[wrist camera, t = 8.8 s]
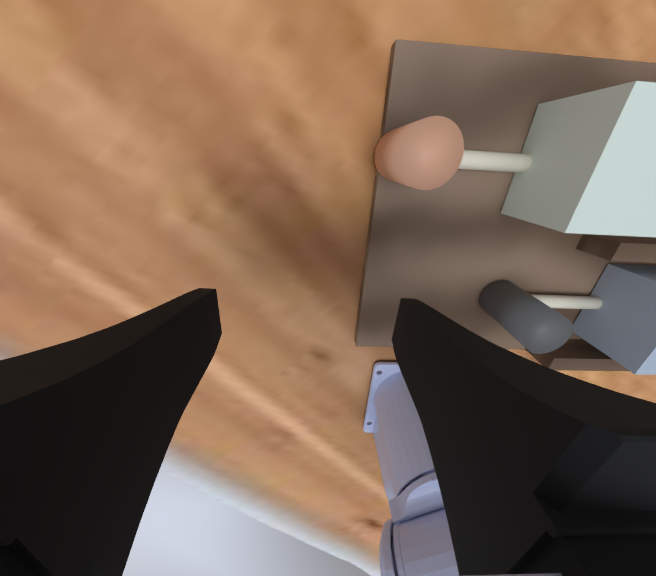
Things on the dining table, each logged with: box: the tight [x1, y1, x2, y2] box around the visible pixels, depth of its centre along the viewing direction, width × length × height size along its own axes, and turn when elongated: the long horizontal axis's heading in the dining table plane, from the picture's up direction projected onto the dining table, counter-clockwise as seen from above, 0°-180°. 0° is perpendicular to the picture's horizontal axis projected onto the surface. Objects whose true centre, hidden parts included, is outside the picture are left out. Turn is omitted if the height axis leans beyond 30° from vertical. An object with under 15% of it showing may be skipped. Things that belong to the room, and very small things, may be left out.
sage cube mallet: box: [374, 81, 656, 237], centre depth 14 cm, size 6×15×5 cm, turn 87°
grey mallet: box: [479, 264, 656, 375], centre depth 18 cm, size 6×15×5 cm, turn 87°
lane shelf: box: [355, 39, 656, 371], centre depth 18 cm, size 20×28×3 cm
